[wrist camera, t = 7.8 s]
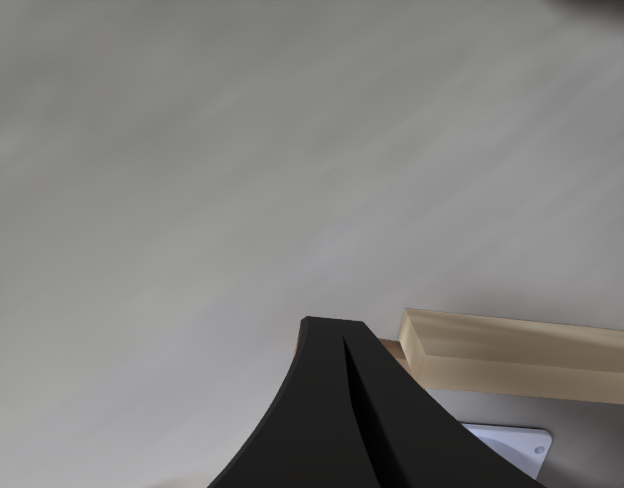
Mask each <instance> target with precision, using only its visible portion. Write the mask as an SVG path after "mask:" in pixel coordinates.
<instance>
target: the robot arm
mask: <svg viewBox="0 0 624 488" xmlns="http://www.w3.org/2000/svg"><path fill="white" fill-rule="evenodd" d="M551 443H552V438H551V436H550V434H549V433H548V432H547V431H545V430H538V429H525V428H513V427H500V426H487V425H474V424H461V423H460V422H458V421H457V420H456V419H455V418H454V417H453V416H452V415H450V414H449V413H448V412H447V411H446V410H445V409H444V408H443V407H442V406H441V405H440V404H439V403H438V402H437V401H436V400H435V399H433V398H432V397H431V396H430V395H429V394H428V393H427V392H426V391H425V390H424V389H423V388H422V387H421V386H420V385H419V384H418V383H417V382H416V381H415V380H414V379H413V377H412V376H411V375H410V374H409V373H408V372H407V371H406V370H405V369H404V368H403V367H402V366H401V365H400V363H399V362H398V361H397V360H396V359H395V358H394V357H393V356H392V354H391V353H390V352H389V351H388V350H387V349H386V348H385V346H384V345H383V344H382V343H381V342H380V341H379V339H378V338H377V337H376V336H375V335H374V334H373V332H372V331H371V330H370V329H369V328H368V327H367V326H366V325H365V323H364V322H362V321H352V320H342V319H331V318H321V317H311V316H307V317H305V318H304V319H302V320H301V324H300V330H299V336H298V343H297V349H296V354H295V356H294V359H293V361H292V364H291V366H290V369H289V371H288V373H287V375H286V377H285V379H284V381H283V383H282V385H281V387H280V389H279V391H278V393H277V395H276V396H275V398H274V400H273V402H272V403H271V405H270V407H269V408H268V410H267V412H266V413H265V415H264V416H263V418H262V419H261V421H260V422H259V424H258V425H257V427H256V428H255V430H254V431H253V433H252V434H251V435H250V437H249V438H248V439H247V441H246V442H245V443H244V445H243V446H242V447H241V449H240V450H239V451H238V453H237V454H236V455H235V456H234V457H233V459H232V460H231V461H230V462H229V464H228V465H227V466H226V467H225V468H224V469H223V471H222V472H221V473H220V474H219V475H218V476H217V477H216V478H215V479H214V480H213V481H212V483H211V484H210V485H209V486H208V487H207V488H546V487H545V486H543V485H542V484H540V483H539V482H537V481H536V478H537V475H538V473H539V471H540V468H541V466H542V464H543V461H544V459H545V457H546V454H547V452H548V450H549V448H550V445H551Z"/></svg>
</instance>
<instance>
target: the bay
mask: <svg viewBox="0 0 624 488" xmlns="http://www.w3.org/2000/svg"><path fill="white" fill-rule="evenodd" d="M398 338H399V341H400V343H401V346H402V349H403V351H404V354H405V356H406V359H407V362H408V364H409V367H410V369H411V372H412V374H413V377H414V380H415V381H416V382H417V383H418V384H419V385H420V386H421V387H425V388H437V389H448V390H460V391H472V392H484V393H496V394H507V395H519V396H531V397H543V398H555V399H566V400H578V401H590V402H602V403H614V404H624V331H621V330H612V329H602V328H592V327H582V326H572V325H563V324H553V323H543V322H533V321H523V320H514V319H504V318H494V317H484V316H474V315H465V314H455V313H445V312H435V311H425V310H416V309H406V308H405V310H404V314H403V318H402V322H401V326H400V330H399V334H398Z"/></svg>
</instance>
